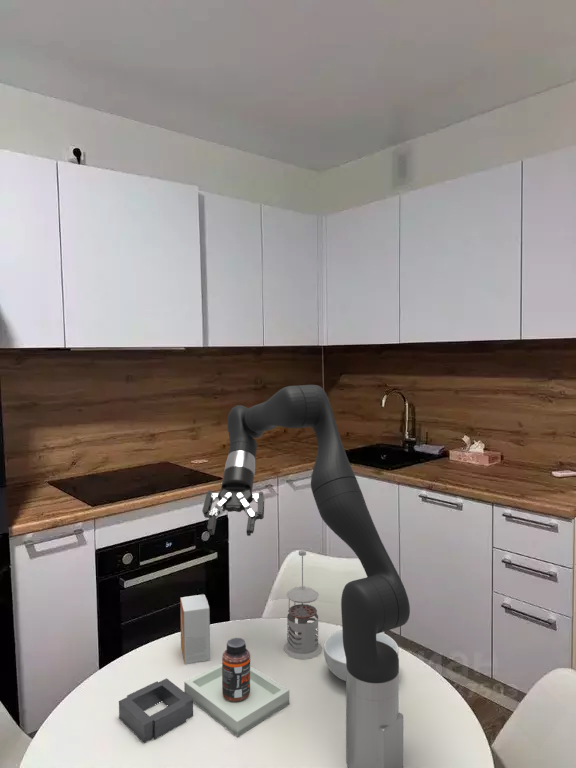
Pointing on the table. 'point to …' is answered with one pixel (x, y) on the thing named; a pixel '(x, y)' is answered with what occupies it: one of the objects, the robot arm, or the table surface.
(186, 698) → the collar
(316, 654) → the french press
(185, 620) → the small box
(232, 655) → the supplement bottle
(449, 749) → the table surface
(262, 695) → the tray
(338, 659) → the cereal bowl
